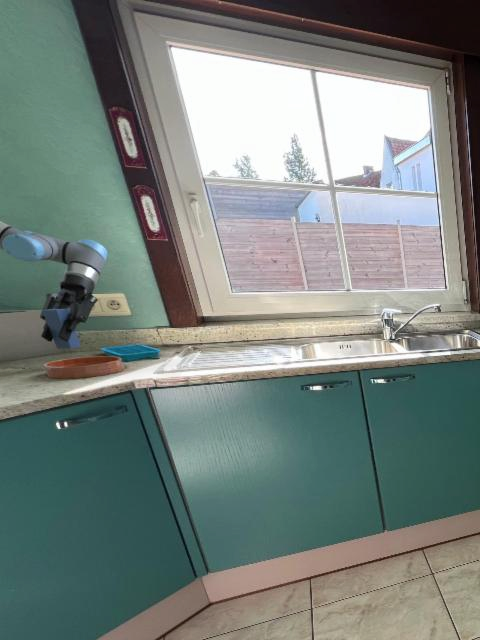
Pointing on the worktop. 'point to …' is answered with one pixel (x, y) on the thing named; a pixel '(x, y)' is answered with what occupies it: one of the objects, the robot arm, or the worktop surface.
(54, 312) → the block
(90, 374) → the bowl
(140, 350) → the ice cube tray
